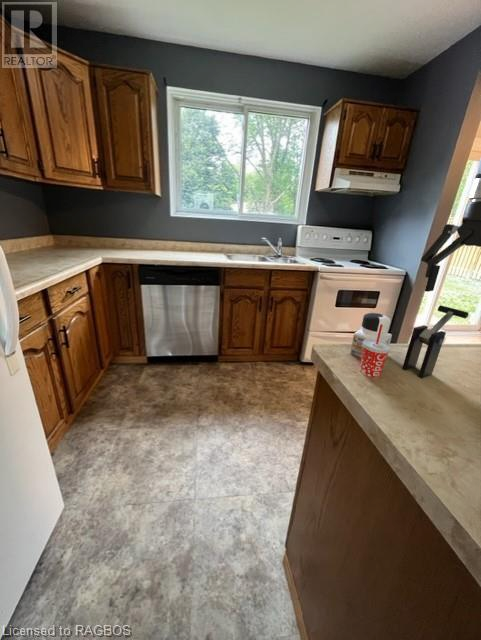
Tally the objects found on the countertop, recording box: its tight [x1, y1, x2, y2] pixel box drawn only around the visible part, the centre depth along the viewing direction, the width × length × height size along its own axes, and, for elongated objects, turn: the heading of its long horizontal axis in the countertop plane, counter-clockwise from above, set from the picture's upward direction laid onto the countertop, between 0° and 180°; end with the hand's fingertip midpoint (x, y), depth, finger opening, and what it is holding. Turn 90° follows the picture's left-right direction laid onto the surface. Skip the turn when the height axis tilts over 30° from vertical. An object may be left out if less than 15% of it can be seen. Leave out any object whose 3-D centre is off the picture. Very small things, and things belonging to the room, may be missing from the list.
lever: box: [419, 304, 469, 346], centre depth 66 cm, size 12×6×2 cm
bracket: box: [401, 324, 447, 380], centre depth 66 cm, size 12×9×13 cm
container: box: [349, 312, 393, 359], centre depth 74 cm, size 8×8×13 cm
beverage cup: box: [359, 324, 392, 378], centre depth 65 cm, size 6×6×14 cm
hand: (458, 297), depth 65 cm, fingers open, 13 cm apart
